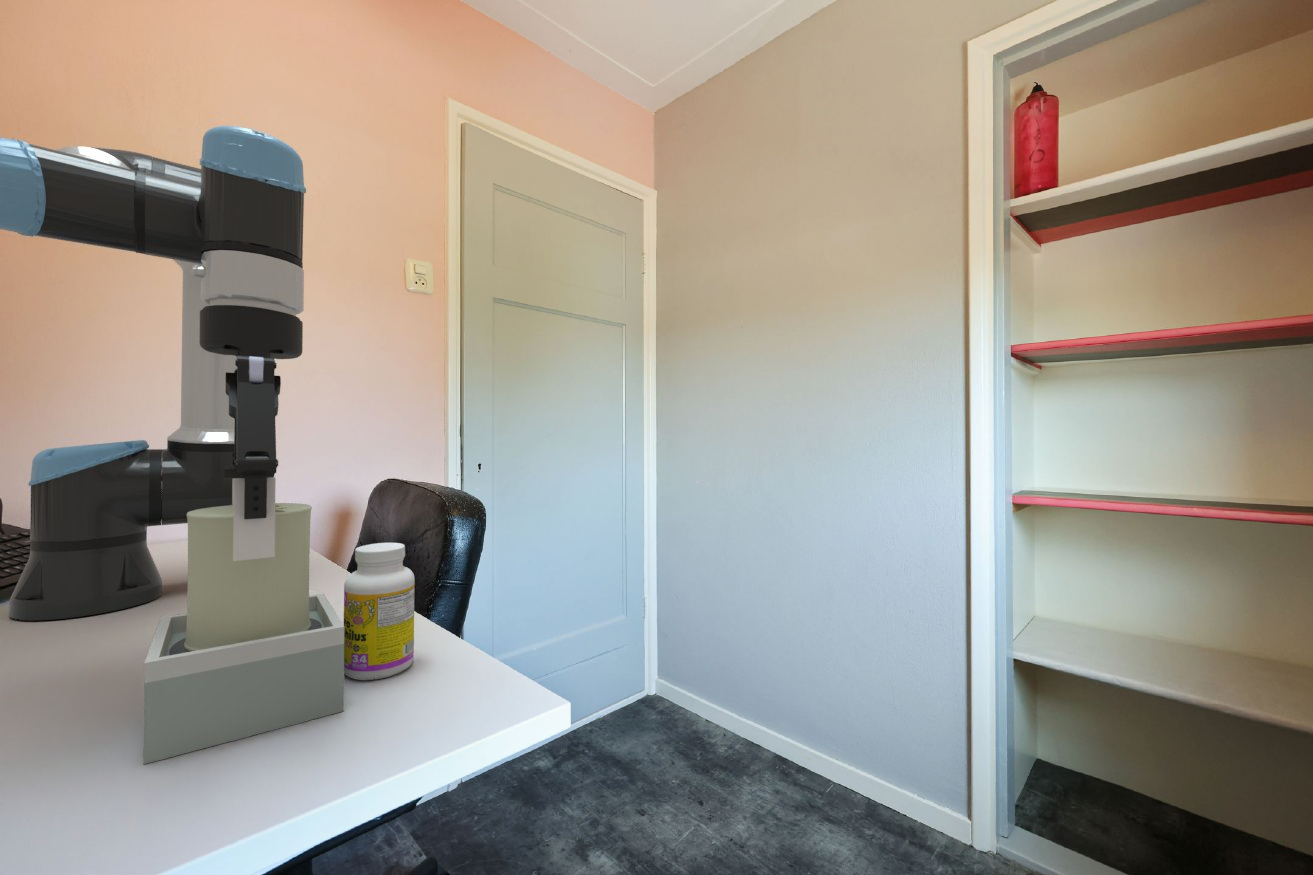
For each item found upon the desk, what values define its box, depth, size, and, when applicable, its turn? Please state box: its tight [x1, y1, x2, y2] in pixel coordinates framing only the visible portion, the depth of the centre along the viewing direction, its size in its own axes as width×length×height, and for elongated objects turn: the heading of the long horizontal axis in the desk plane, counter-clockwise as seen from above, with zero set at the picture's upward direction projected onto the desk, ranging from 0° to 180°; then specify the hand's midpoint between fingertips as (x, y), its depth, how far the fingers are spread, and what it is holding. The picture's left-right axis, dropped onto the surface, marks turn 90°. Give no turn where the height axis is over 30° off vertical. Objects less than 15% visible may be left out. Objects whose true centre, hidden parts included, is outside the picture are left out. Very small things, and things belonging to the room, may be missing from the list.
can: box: [184, 502, 313, 652], centre depth 50 cm, size 9×9×12 cm
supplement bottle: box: [343, 542, 416, 681], centre depth 57 cm, size 7×7×13 cm
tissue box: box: [142, 592, 345, 765], centre depth 49 cm, size 13×13×8 cm
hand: (251, 545), depth 50 cm, fingers open, 13 cm apart
